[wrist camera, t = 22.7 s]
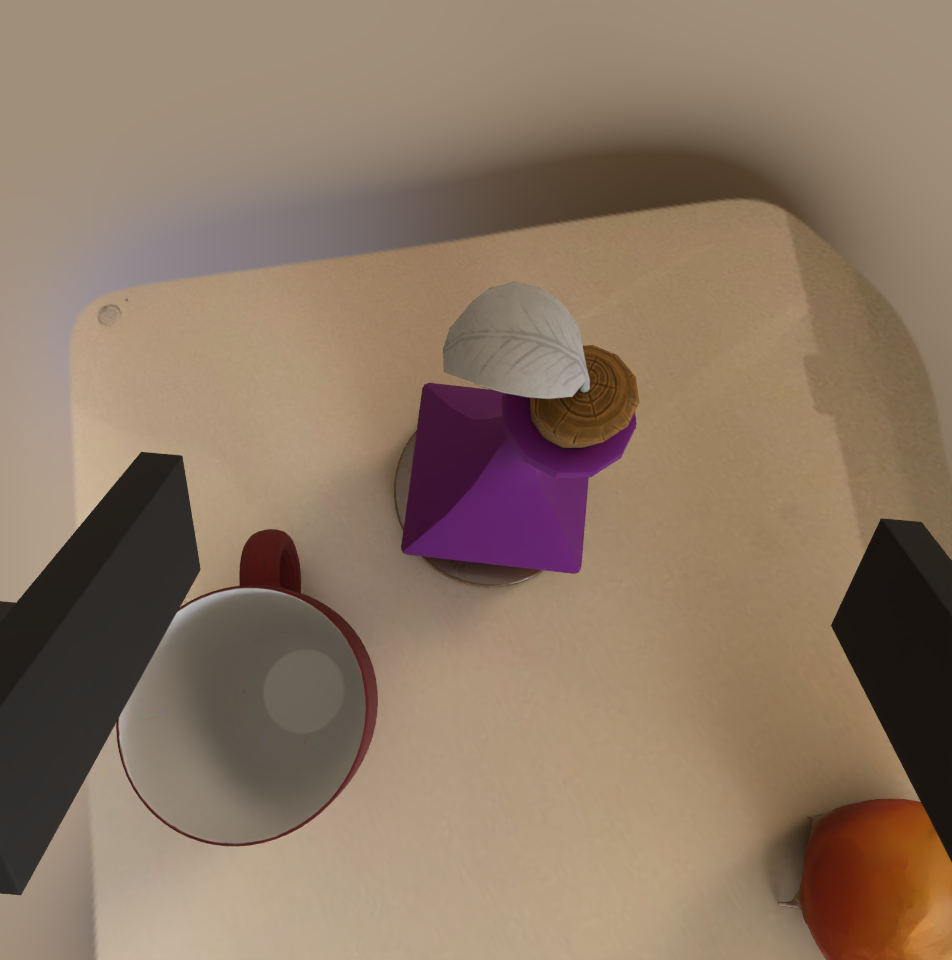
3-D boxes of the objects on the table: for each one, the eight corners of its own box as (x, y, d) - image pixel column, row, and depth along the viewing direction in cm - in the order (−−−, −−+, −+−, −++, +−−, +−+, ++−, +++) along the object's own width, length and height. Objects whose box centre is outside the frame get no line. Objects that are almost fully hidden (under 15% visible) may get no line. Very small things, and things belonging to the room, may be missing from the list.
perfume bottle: (582, 423, 35) (707, 209, 18) (569, 580, 34) (691, 517, 16) (426, 405, 35) (395, 173, 18) (405, 561, 34) (348, 478, 16)
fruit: (760, 756, 32) (961, 819, 25) (863, 779, 36) (1062, 840, 29) (726, 958, 30) (932, 1086, 23) (839, 960, 34) (1043, 1070, 27)
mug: (192, 570, 34) (87, 543, 25) (363, 529, 35) (327, 487, 25) (232, 806, 32) (134, 879, 22) (413, 758, 33) (394, 809, 23)
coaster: (378, 568, 35) (376, 566, 34) (416, 388, 36) (414, 381, 35) (568, 603, 34) (571, 602, 33) (596, 420, 36) (599, 414, 35)
